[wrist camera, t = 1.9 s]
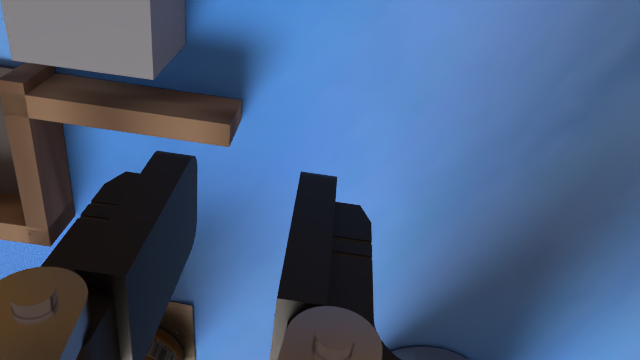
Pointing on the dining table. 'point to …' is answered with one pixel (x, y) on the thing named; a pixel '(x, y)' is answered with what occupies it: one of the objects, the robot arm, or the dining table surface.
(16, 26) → the block
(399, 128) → the dining table surface
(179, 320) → the condiment
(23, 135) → the wooden maze tray
